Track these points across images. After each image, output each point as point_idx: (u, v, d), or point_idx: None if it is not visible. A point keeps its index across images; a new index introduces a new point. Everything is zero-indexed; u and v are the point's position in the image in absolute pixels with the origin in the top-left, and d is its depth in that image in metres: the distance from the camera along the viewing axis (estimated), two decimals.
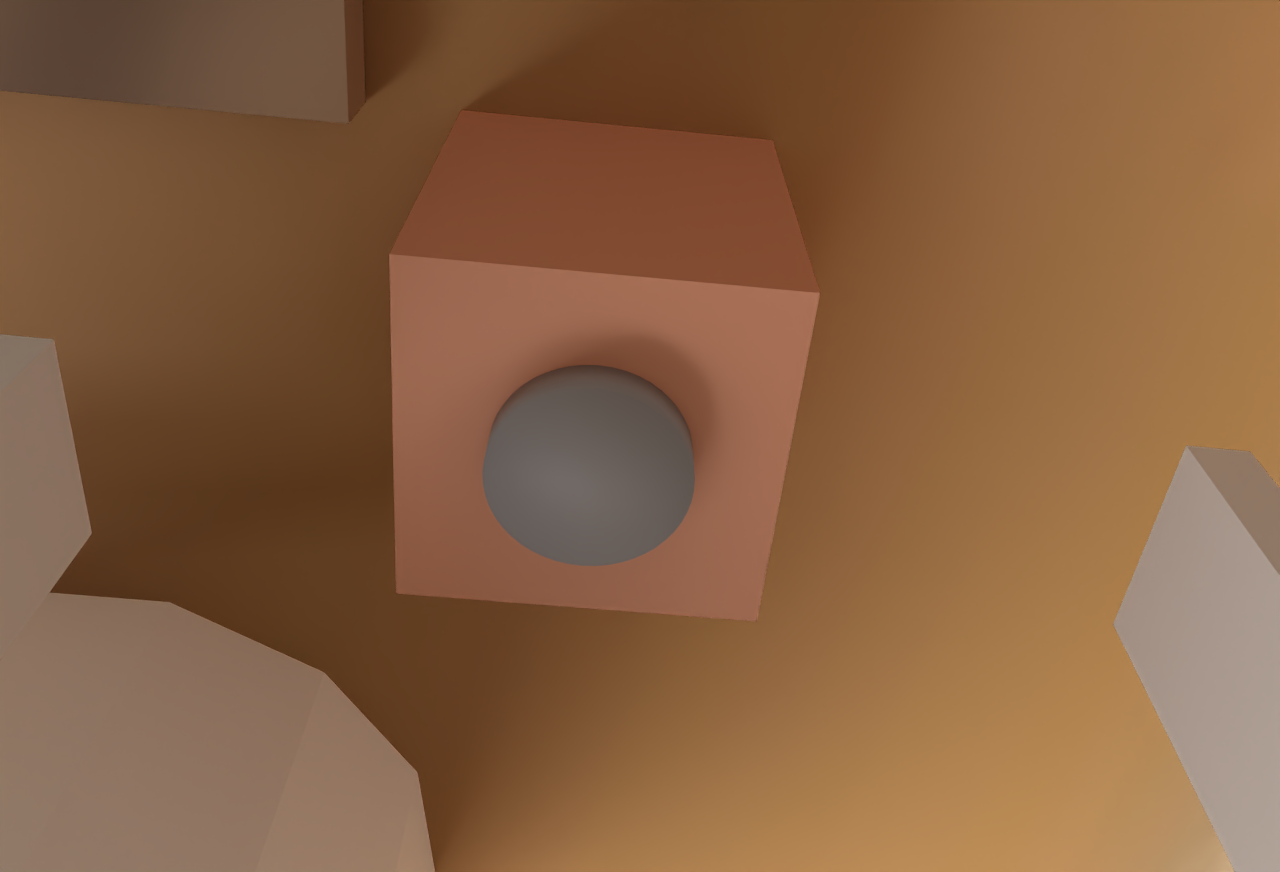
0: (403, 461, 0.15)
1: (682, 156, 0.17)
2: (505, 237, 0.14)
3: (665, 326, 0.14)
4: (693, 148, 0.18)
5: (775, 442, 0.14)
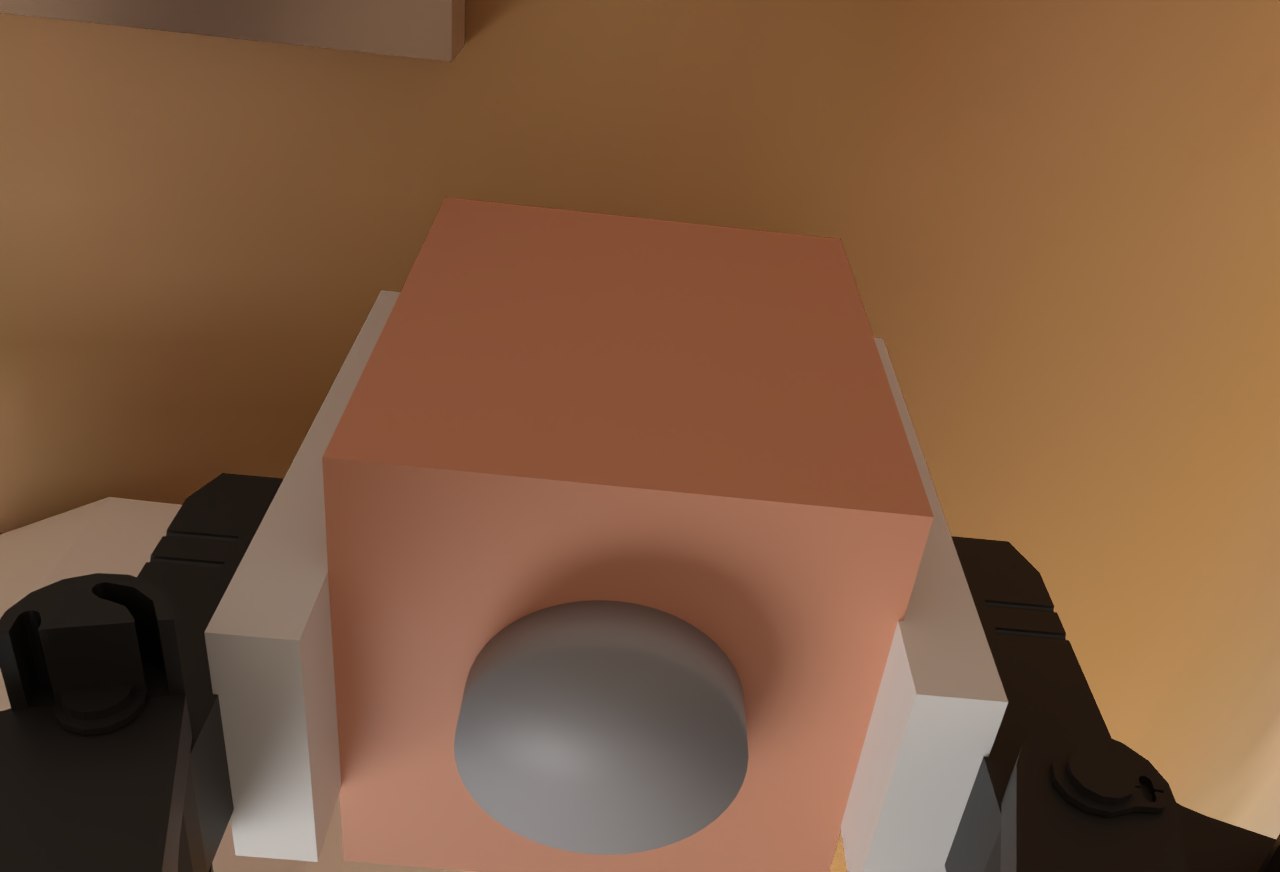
0: (348, 711, 0.11)
1: (728, 269, 0.13)
2: (491, 419, 0.10)
3: (711, 554, 0.10)
4: (741, 256, 0.14)
5: (858, 697, 0.10)
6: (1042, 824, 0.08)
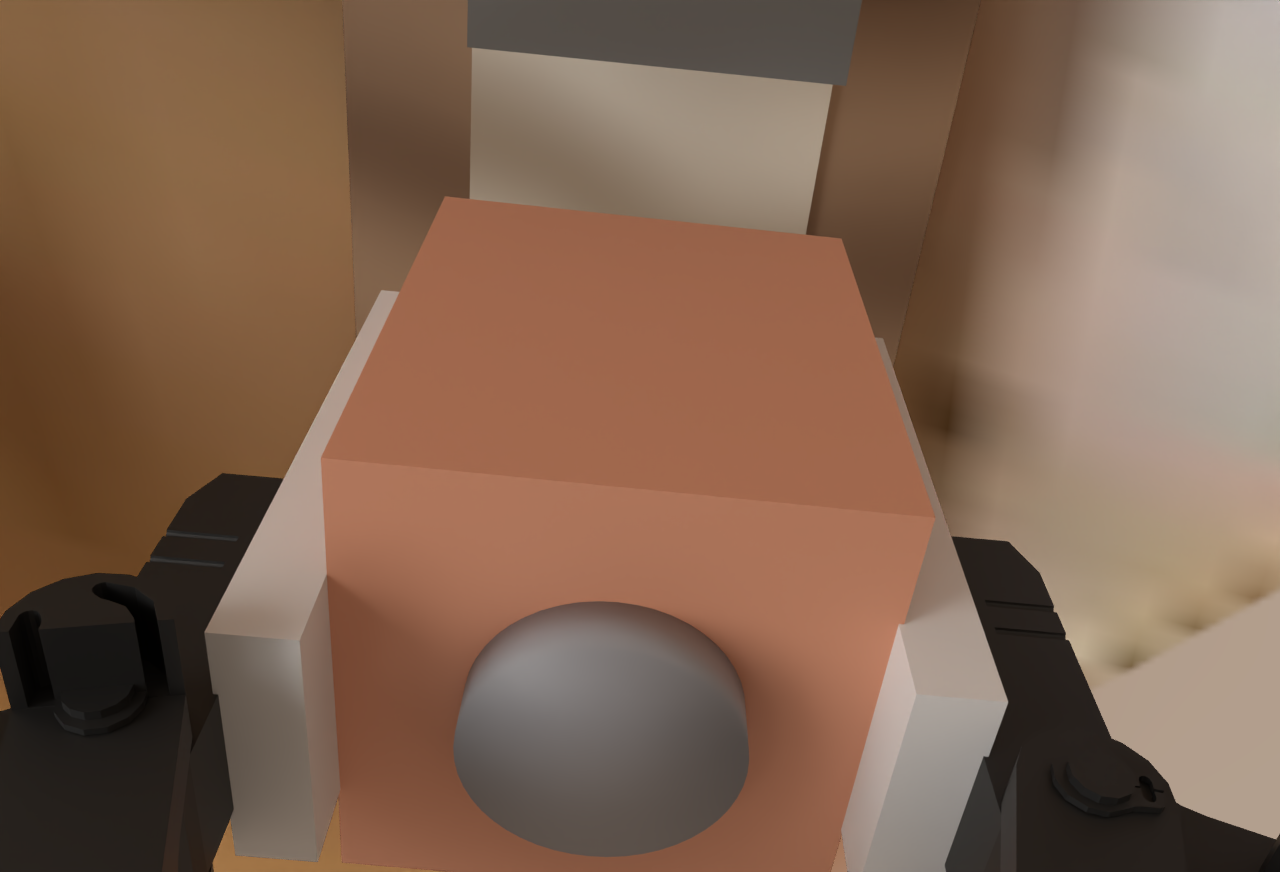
0: (347, 712, 0.11)
1: (728, 268, 0.13)
2: (491, 419, 0.10)
3: (711, 555, 0.10)
4: (742, 255, 0.14)
5: (859, 699, 0.10)
6: (1043, 824, 0.08)
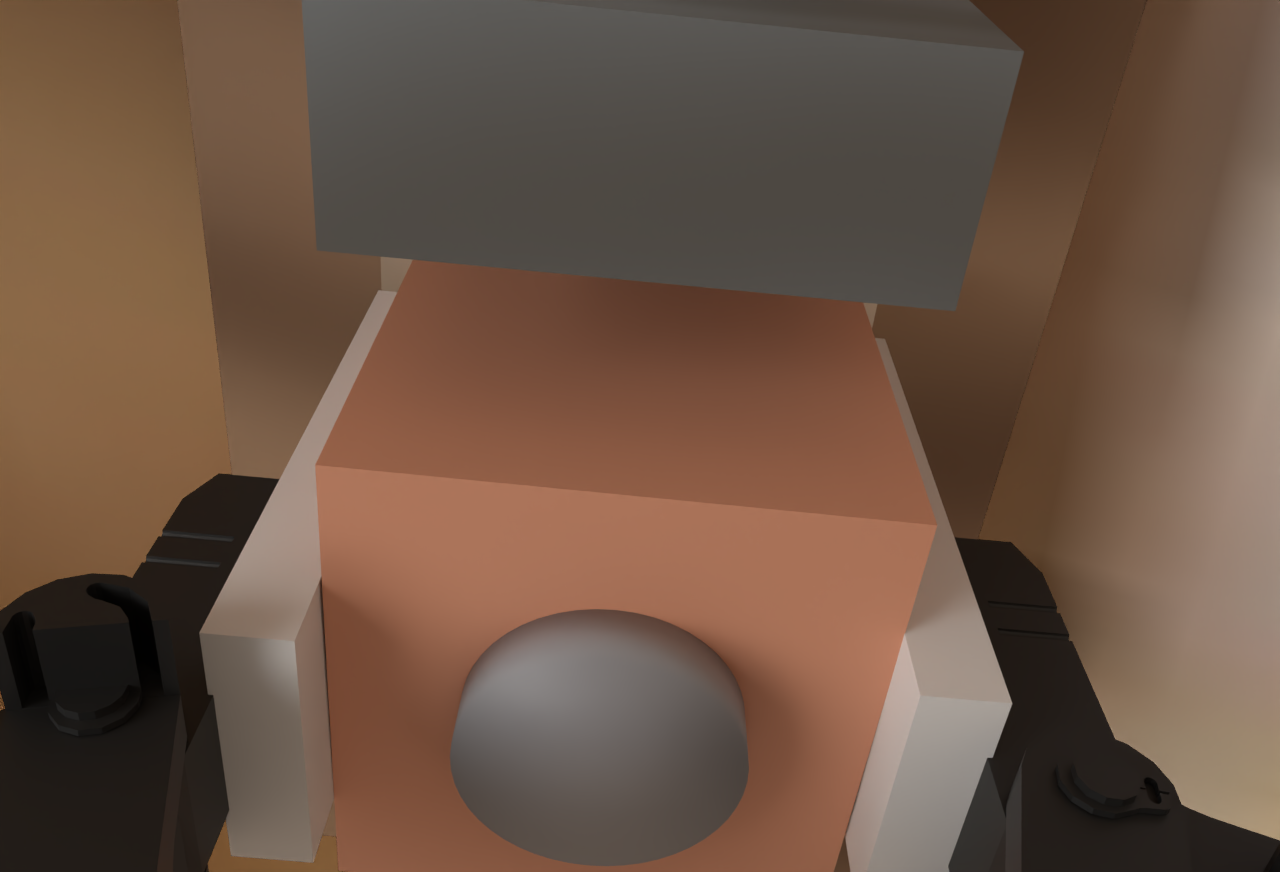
0: (343, 720, 0.11)
1: None
2: (487, 425, 0.10)
3: (711, 562, 0.10)
4: None
5: (860, 707, 0.10)
6: (1047, 824, 0.08)
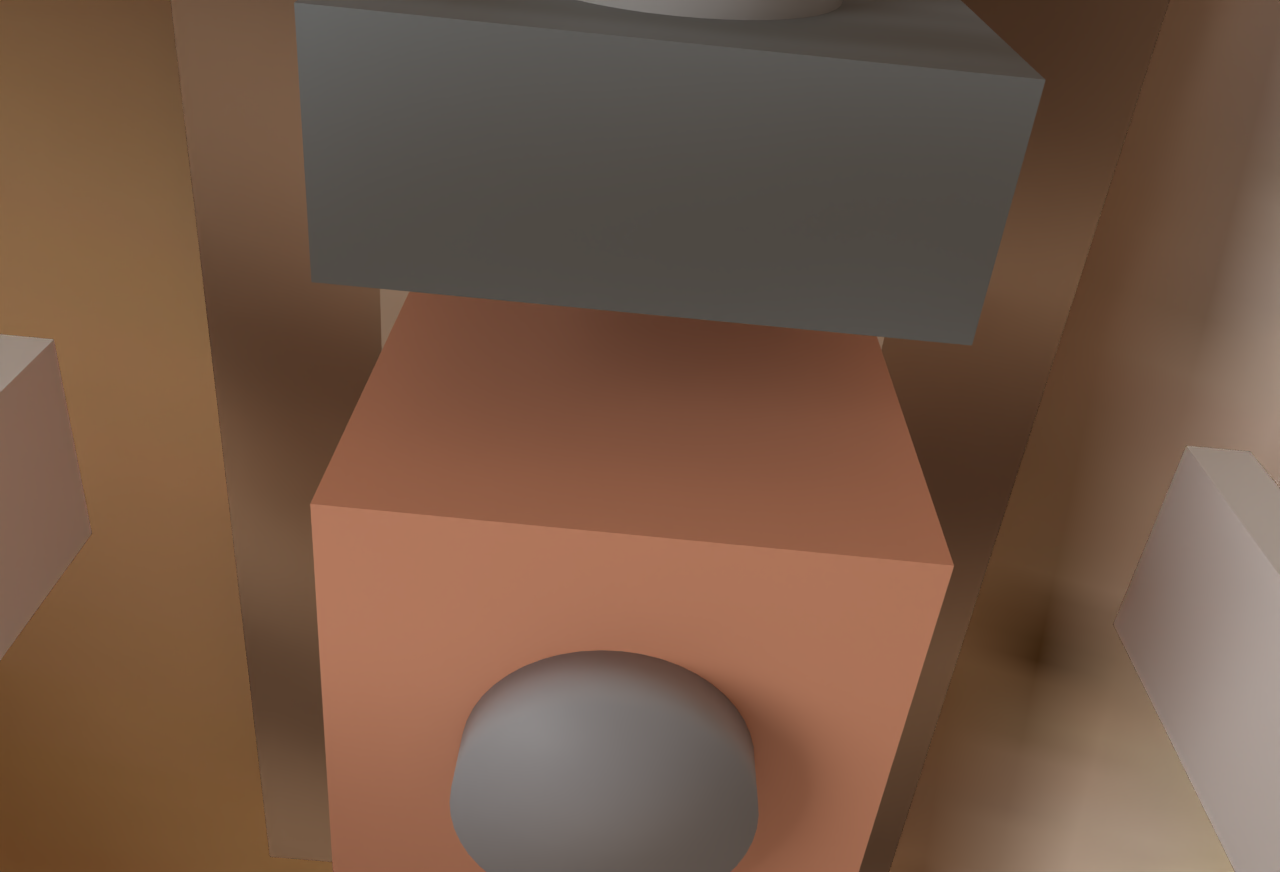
0: (340, 762, 0.10)
1: None
2: (488, 461, 0.10)
3: (719, 604, 0.09)
4: None
5: (873, 750, 0.10)
6: None
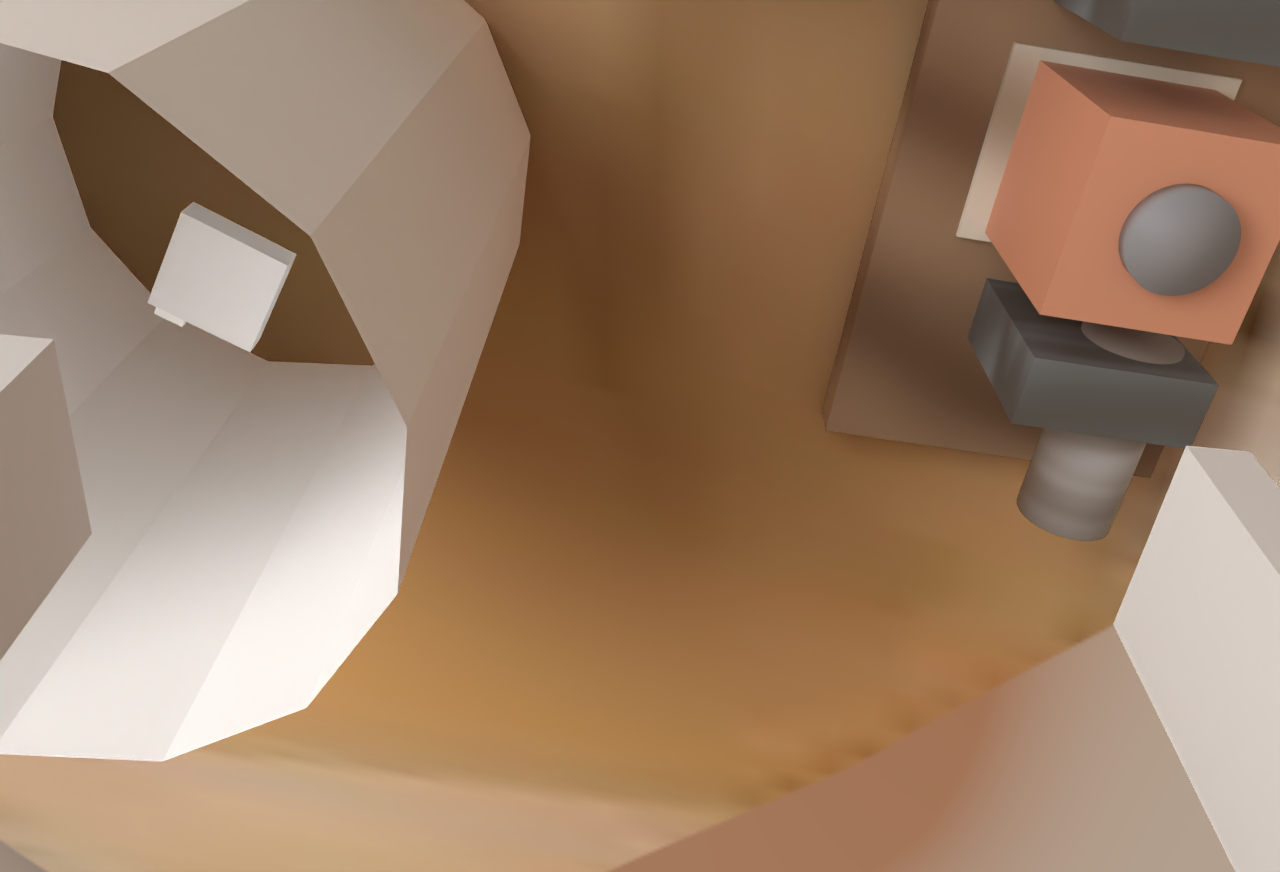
0: (1074, 233, 0.28)
1: (1181, 92, 0.30)
2: (1150, 116, 0.27)
3: (1236, 164, 0.27)
4: (1181, 89, 0.31)
5: (1273, 234, 0.27)
6: None
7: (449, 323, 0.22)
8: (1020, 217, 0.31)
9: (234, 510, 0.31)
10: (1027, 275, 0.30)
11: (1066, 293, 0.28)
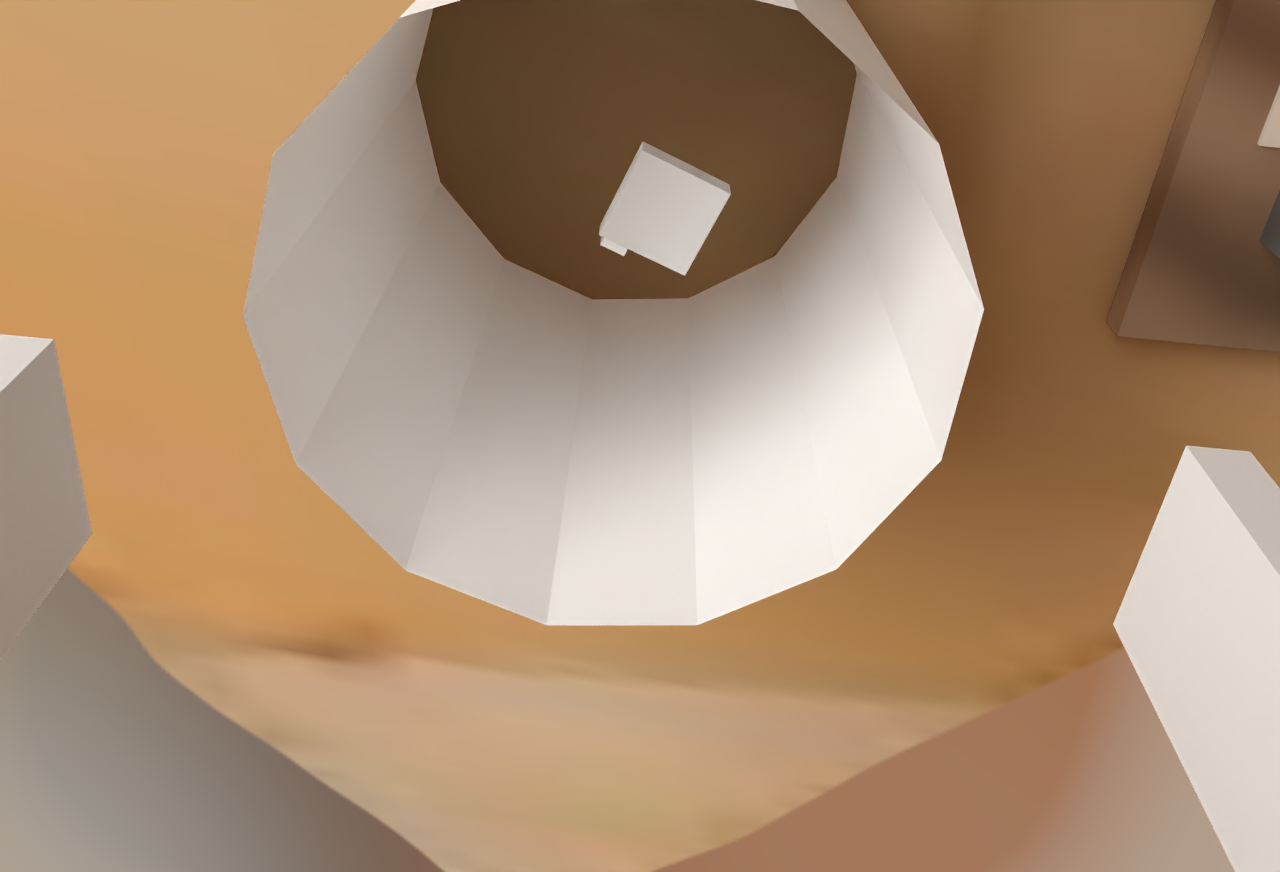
0: None
1: None
2: None
3: None
4: None
5: None
6: None
7: (941, 229, 0.26)
8: None
9: (637, 425, 0.34)
10: None
11: None
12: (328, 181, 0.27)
